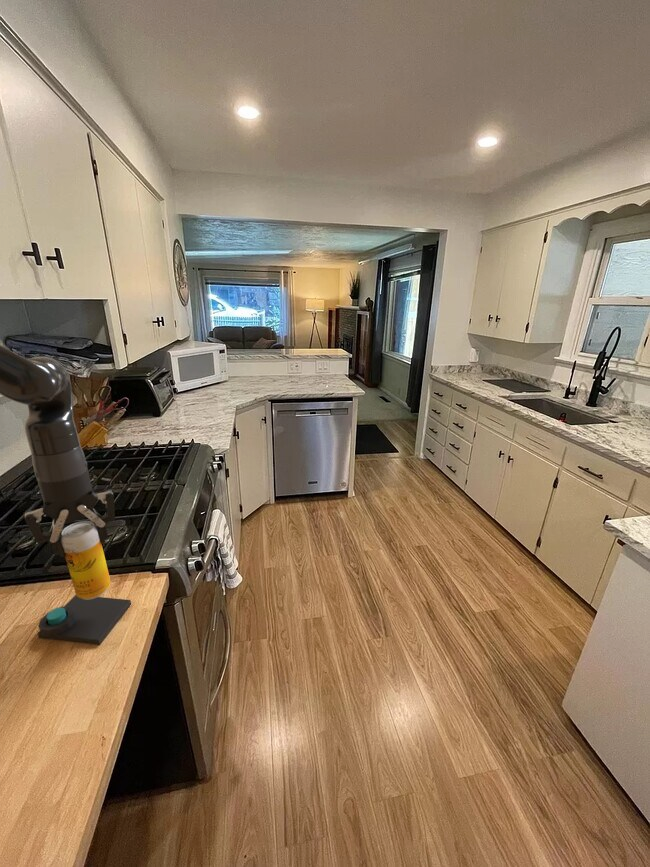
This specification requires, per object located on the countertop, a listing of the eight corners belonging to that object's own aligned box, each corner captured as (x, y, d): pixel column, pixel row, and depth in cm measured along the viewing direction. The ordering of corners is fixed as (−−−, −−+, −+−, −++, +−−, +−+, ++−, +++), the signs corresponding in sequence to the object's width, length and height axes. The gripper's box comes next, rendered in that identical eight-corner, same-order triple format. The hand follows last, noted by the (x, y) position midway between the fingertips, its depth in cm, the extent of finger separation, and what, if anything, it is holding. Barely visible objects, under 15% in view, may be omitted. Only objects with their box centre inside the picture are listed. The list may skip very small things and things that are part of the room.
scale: (35, 640, 70) (30, 628, 69) (75, 599, 80) (72, 588, 79) (98, 647, 69) (95, 635, 68) (131, 604, 79) (129, 594, 78)
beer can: (69, 598, 71) (50, 535, 66) (94, 577, 77) (78, 517, 72) (94, 604, 70) (77, 540, 65) (118, 582, 76) (104, 522, 70)
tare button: (44, 624, 71) (42, 618, 70) (56, 612, 73) (55, 606, 73) (58, 626, 70) (56, 620, 70) (70, 613, 73) (68, 608, 73)
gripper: (104, 454, 71) (120, 526, 77) (10, 474, 63) (36, 552, 68) (111, 467, 66) (127, 543, 71) (9, 491, 57) (37, 575, 63)
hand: (82, 547), depth 70 cm, fingers closed on beer can, 6 cm apart
